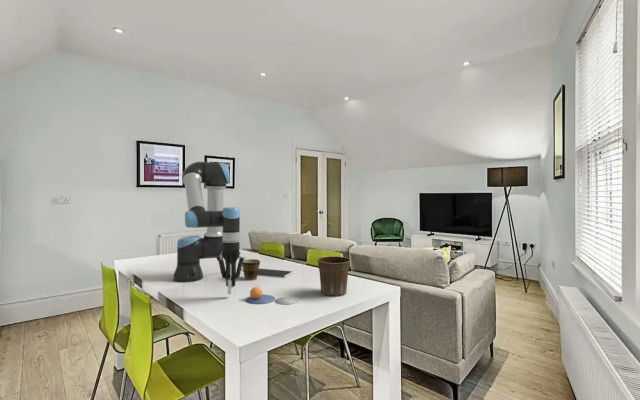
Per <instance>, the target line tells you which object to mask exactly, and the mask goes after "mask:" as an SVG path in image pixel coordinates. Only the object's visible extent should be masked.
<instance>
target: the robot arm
mask: <svg viewBox="0 0 640 400" xmlns="http://www.w3.org/2000/svg"><path fill="white" fill-rule="evenodd" d="M229 170H230V169H229V167H228V165H227V164H226V163H225V162H224V163H223V162H211V161H209V162H208V161H196V162H192V163H190V164H189V165H187V166H186V168H185V169H184V171H183V172H182V176H181V180H182V184H183V185H184V187H185V194H186V202H187V209H188V211H185V212H184V225H185V227H186V228H189V229H190V228H192V229H193V228H195V229H196V228H197V229H198V228H206V232H205V233H204V234H203V237H200V235H188V236H184V237H181V238H179V239H178V240H177V245H176V249H177V253H176V254H177V255H176V257H177V259H176V260H177V261H176V268H175V271H174V274H173V281H174V282H178V283H189V282H190V283H191V282H195V281H196V282H197V281H200V280H202V279H204V273H203V270H202V267H201V262H200V261H201V260H203V259H216V260H217V261H218V265H219V269H220V274H221V278H222V279H225V286H226V287H227V295H232V294H234V289H235V288H234V287H236V280H237V279H238V278H240V275H241V272H242V270H241V269H243V266H242V264H243V261H244V260H246V257H245V256H242V255H241V252H240V250H241V249H240V237H241V235H240V234H241V233H240V229H241V227H240V226H241V225H240V223H241V222H240V221H241V220H240V219H241V214H240V210H241V209H240V208H239V207H235V206H234V207H229V206H228V207H224V190H225V189H226V188H227V185H228V184H230V181H231V180H230V179H231V176H230V171H229ZM202 184H204V188H206V189H207V196H206V197H207V202H206V204H207V205H206V204H205V199H204V196H203V195H204V194H203V189H202ZM206 206H207V207H206ZM237 261H238V263H237Z"/></svg>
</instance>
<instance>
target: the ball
mask: <svg viewBox="0 0 640 400" xmlns="http://www.w3.org/2000/svg"><path fill="white" fill-rule="evenodd" d="M263 293H264V292H263V289H262V288H261V287H259V286H254V287H252V288H251V290H250V291H249V294H250V296H251V297H252V298H253V299H259V298H261V296H262V295H264V294H263ZM250 296H249V297H250Z"/></svg>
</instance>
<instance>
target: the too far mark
mask: <svg viewBox="0 0 640 400" xmlns="http://www.w3.org/2000/svg"><path fill="white" fill-rule="evenodd" d="M274 302H275V303H276V304H278V305H285V306H286V305H287V306H288V305H293V304H297V303H298V302H299V299H298V298H296V297H292V296H283V297H279V298H275V300H274Z"/></svg>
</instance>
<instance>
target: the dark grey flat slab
mask: <svg viewBox="0 0 640 400" xmlns="http://www.w3.org/2000/svg"><path fill="white" fill-rule="evenodd" d="M294 274H295V272H294V271H290V270H278V269H269V268H259V269H258V274H257V277H258V276H259V277H267V278H268V277H269V278H280V279H287V278H289V277H291V276H292V275H294Z"/></svg>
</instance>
